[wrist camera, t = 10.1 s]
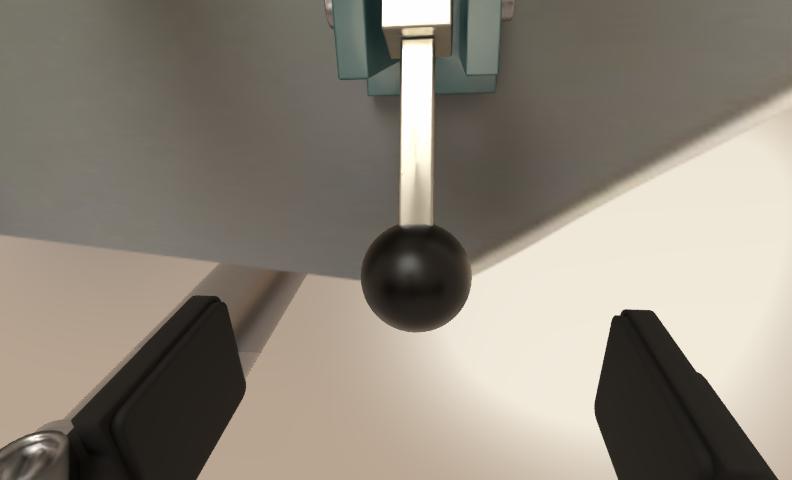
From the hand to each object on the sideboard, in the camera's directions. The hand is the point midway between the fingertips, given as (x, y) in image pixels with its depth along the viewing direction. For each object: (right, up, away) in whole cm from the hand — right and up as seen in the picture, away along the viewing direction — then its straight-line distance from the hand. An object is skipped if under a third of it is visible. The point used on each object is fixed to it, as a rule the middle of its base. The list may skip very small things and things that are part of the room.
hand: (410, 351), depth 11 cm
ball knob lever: (+1, +6, +5) cm, 8 cm away
